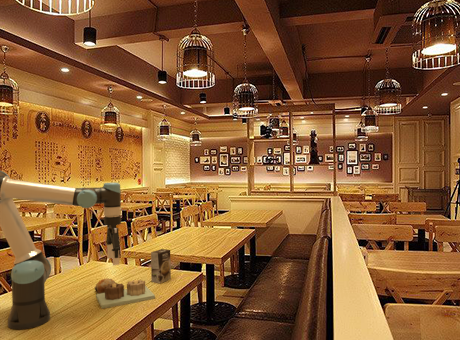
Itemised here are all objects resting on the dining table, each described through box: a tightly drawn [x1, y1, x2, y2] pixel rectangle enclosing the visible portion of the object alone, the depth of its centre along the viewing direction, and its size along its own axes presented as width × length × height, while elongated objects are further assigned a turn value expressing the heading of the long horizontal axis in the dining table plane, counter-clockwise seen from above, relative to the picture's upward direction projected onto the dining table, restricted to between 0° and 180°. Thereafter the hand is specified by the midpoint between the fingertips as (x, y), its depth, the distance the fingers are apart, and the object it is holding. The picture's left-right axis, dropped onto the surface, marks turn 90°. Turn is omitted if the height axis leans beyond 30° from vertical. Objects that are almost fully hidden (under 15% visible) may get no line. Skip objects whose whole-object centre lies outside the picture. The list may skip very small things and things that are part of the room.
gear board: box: [95, 279, 156, 310], centre depth 178 cm, size 24×16×8 cm, turn 118°
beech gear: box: [126, 279, 146, 296], centre depth 180 cm, size 8×8×5 cm
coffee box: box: [150, 248, 172, 284], centre depth 203 cm, size 9×6×16 cm
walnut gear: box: [105, 282, 125, 300], centre depth 175 cm, size 8×8×5 cm
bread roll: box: [94, 278, 117, 294], centre depth 188 cm, size 10×10×8 cm
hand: (113, 261), depth 175 cm, fingers open, 13 cm apart
